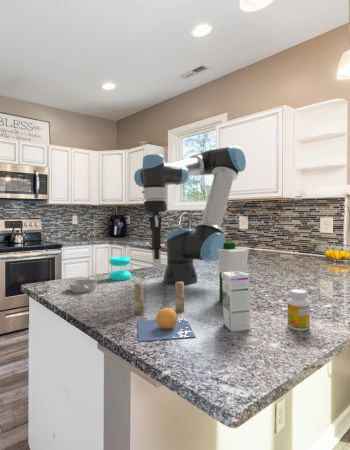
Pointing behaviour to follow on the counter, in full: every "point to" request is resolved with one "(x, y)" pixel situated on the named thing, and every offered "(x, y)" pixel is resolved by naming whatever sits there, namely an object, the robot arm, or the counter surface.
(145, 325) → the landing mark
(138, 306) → the left post
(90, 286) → the saucepan
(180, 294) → the right post
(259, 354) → the counter surface
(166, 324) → the ball
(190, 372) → the counter surface
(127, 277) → the donuts
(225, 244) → the milk carton
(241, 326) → the syrup box
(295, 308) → the supplement bottle
